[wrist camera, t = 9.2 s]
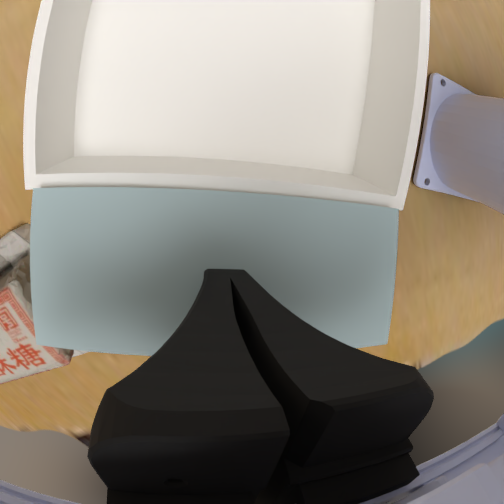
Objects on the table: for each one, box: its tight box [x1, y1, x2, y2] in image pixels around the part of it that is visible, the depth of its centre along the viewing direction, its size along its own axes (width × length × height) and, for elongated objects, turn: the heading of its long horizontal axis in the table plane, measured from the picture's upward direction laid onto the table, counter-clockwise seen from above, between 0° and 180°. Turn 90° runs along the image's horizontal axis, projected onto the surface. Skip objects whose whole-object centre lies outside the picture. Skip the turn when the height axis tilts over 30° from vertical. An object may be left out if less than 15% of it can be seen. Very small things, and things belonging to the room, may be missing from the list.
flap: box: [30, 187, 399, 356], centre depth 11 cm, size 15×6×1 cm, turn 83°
